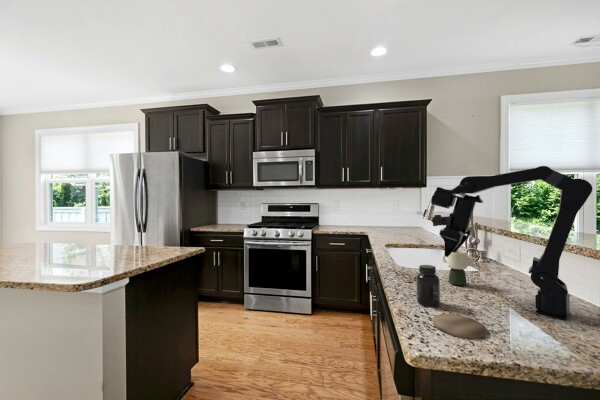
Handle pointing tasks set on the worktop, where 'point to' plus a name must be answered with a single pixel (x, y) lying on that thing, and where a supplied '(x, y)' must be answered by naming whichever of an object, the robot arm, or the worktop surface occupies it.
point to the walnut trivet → (459, 326)
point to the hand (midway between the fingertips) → (449, 254)
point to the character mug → (458, 266)
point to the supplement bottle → (428, 286)
